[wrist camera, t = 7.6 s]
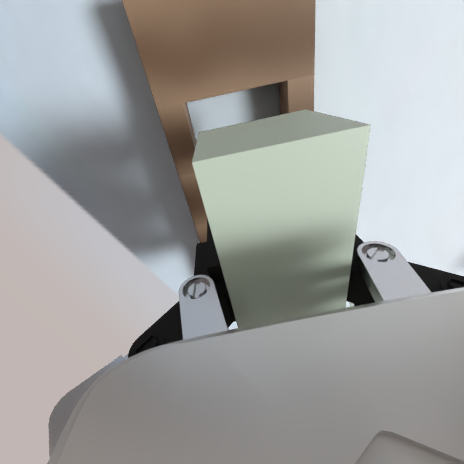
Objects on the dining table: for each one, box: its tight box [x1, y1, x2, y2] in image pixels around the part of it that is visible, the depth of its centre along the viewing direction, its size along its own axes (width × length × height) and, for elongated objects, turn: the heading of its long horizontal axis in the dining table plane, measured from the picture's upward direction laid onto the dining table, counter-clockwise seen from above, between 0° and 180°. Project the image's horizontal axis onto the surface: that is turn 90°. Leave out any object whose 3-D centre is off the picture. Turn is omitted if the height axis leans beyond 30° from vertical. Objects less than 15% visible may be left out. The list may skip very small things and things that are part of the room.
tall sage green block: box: [192, 110, 371, 328], centre depth 11 cm, size 11×4×7 cm, turn 10°
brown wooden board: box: [122, 0, 315, 243], centre depth 17 cm, size 22×9×2 cm, turn 10°
